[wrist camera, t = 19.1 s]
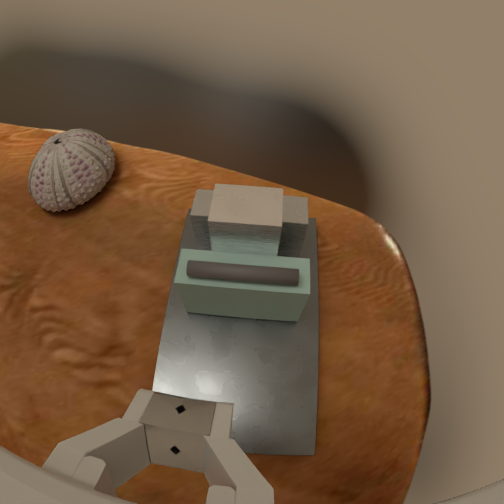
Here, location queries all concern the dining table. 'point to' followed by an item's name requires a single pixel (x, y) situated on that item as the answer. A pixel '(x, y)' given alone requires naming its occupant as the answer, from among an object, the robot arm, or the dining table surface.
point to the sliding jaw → (243, 284)
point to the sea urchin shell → (70, 169)
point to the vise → (249, 348)
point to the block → (246, 219)
